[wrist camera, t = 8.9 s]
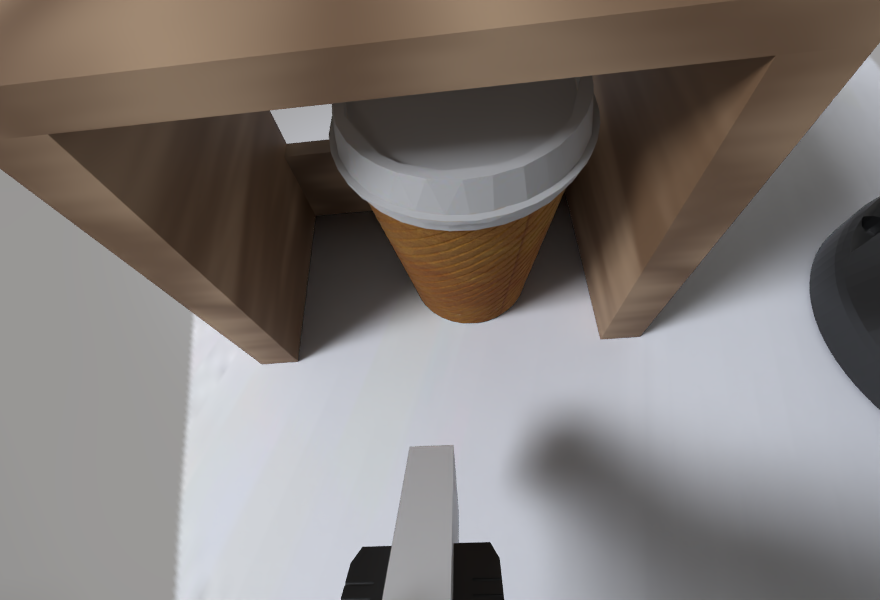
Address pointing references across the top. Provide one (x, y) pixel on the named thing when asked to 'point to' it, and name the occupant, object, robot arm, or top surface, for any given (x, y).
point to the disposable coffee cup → (467, 181)
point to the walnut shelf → (390, 75)
